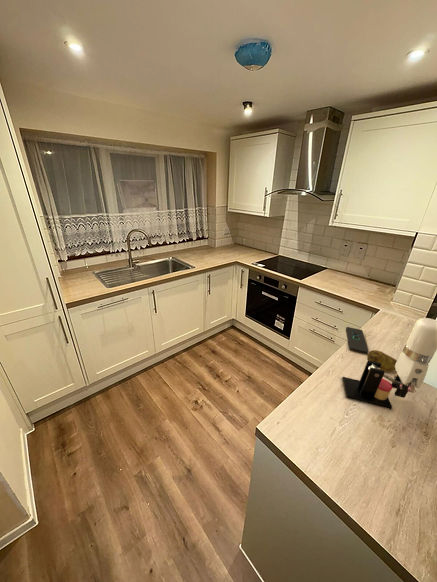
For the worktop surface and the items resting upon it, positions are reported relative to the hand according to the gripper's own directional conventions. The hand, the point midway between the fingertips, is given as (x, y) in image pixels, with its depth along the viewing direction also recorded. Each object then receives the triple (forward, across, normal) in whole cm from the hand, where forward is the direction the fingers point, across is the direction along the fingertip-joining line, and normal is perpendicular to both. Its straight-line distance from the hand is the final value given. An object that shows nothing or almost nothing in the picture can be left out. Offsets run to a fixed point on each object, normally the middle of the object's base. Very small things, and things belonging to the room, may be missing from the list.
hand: (397, 391), depth 87 cm
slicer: (+5, 0, +10) cm, 11 cm away
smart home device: (+5, +36, +6) cm, 37 cm away
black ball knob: (-4, 0, +5) cm, 6 cm away
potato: (+5, +18, 0) cm, 19 cm away
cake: (+3, 0, +5) cm, 6 cm away
